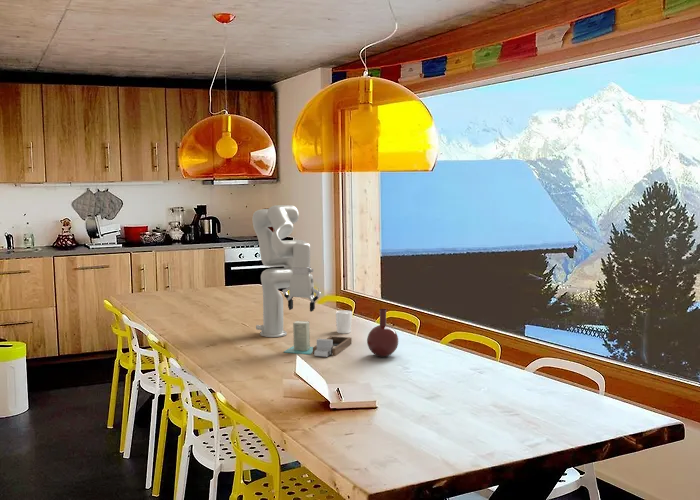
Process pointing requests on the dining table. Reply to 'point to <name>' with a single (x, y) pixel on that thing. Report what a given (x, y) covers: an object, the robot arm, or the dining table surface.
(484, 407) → the dining table surface
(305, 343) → the skincare box
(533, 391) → the dining table surface
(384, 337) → the round-bottom flask
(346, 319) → the white cup
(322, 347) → the brushed steel block
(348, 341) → the brown rectangular frame
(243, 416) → the dining table surface
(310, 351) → the coaster
